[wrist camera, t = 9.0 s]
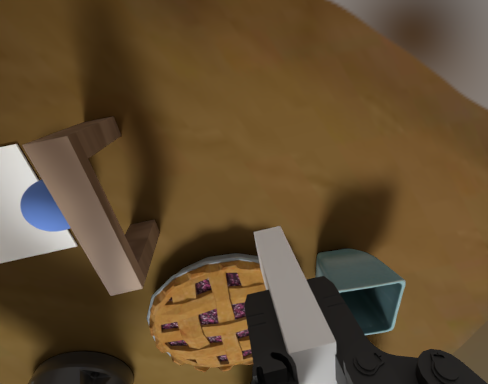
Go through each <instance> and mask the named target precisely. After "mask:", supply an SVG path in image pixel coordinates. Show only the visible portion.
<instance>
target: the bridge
mask: <svg viewBox="0 0 488 384" xmlns="http://www.w3.org/2000/svg"><path fill="white" fill-rule="evenodd" d="M120 136H121V134H120V131H119V128H118V126H117V123H116V121H115V118H114V116H112V117H107V118H102V119H97V120H92V121H87V122H83V123H80V124H78V125H75V126H72V127H70V128H67V129H64V130H61V131H59V132H56V133H53V134H51V135H48V136H45V137H43V138H40V139H37V140H34V141H32V142H29V143H26V144H24V145H22V146H23V148H24V149H25V151H26V153H27V155H28V156H29V158H30V160H31V161H32V163H33V165H34V166H35V168H36V170H37V172H38V173H39V175H40V177H41V178H42V180H43V182H44V183H45V185H46V187H47V189H48V190H49V192H50V194H51V195H52V197H53V199H54V200H55V202H56V204H57V206H58V207H59V209H60V211H61V212H62V214H63V216H64V217H65V219H66V221H67V223H68V224H69V226H70V228H71V229H72V231H73V233H74V235H75V236H76V238H77V240H78V241H79V243H80V245H81V246H82V248H83V250H84V252H85V253H86V255H87V257H88V258H89V260H90V262H91V263H92V265H93V267H94V269H95V270H96V272H97V274H98V275H99V277H100V279H101V280H102V282H103V284H104V286H105V287H106V289H107V291H108V292H109V294H110V296H113V295H117V294H121V293H126V292H130V291H134V290H138V289H143V286H144V283H145V279H146V276H147V273H148V270H149V266H150V263H151V260H152V257H153V253H154V250H155V247H156V244H157V240H158V237H159V234H160V232H159V229H158V227H157V224H156V222H155V219H154V220H150V221H145V222H140V223H136V224H131V225H130V226H129V228H128V230H127V232H126V234H125V235H124V233H123V231H122V229H121V226H120V224H119V222H118V220H117V218H116V216H115V214H114V212H113V210H112V208H111V206H110V203H109V201H108V199H107V197H106V195H105V193H104V191H103V189H102V187H101V185H100V182H99V180H98V178H97V176H96V174H95V172H94V170H93V168H92V166H91V164H90V162H89V159H88V158H90V157H91V156H93V155H94V154H95V153H97V152H98V151H100V150H101V149H103V148H104V147H106V146H107V145H109V144H110V143H111V142H113V141H114V140H116V139H117V138H119V137H120Z"/></svg>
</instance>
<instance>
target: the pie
mask: <svg viewBox="0 0 488 384" xmlns="http://www.w3.org/2000/svg"><path fill="white" fill-rule="evenodd" d="M264 290H266V287H265V283H264V280H263V276H262V272H261V269H260V263H259V258H258V256H253V255H246V254H239V253H233V254H226V255H219V256H212V257H207V258H205V259H202V260H200V261H198V262H196V263H194V264H191V265H189V266H187V267H185V268H183V269H181V270H180V271H179V272H178V273H177V274H175V275H173V276H172V277H171V278H170V279H169V280H168V281H166V282H165V283H164V284H163V285H162V286H161V287H160V288H159V289H158V290H157V291H156V292H155V293H154V294H153V295H152V298H151V302H150V306H149V311H148V315H147V321H148V324H149V327H150V333H151V335H152V336H153V338H154V340H155V342H156V347H157V348H158V349H159V350H160V351H161V352H162V353H163V352H167V353H168V354H169V355H170V356H171V357H172V360H173V362H175V363H177V364H178V365H180V366H181V365H183V364H186V363H187V364H190V365H193V366H194V367H195V369H196V370H199V371H202V372H206V371H207V370H208V369H209V368H210V367H218V368H219V369H220V370H221V371H222V372H223V371H228V370H231V368H232V367H233V365H238V364H245V365H250V364H253V358H252V351H251V345H250V339H249V333H248V326H247V320H246V314H245V307H244V304H245V301H246V297H247V294H251V293H256V292H260V291H264Z"/></svg>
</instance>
